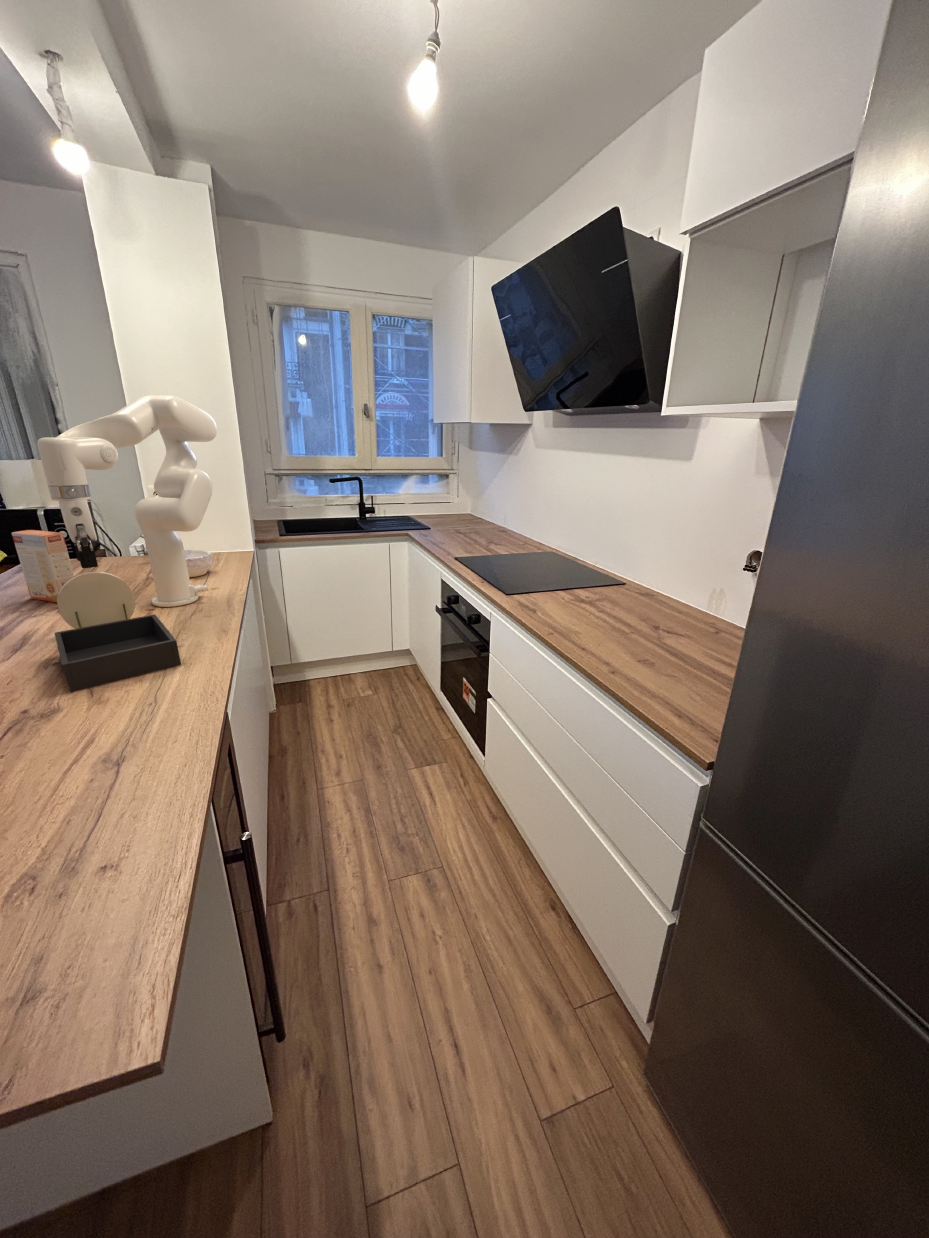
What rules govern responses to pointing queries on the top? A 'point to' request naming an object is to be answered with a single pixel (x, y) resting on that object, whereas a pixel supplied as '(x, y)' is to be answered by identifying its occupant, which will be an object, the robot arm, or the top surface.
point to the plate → (95, 599)
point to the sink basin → (115, 651)
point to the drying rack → (79, 619)
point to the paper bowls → (198, 562)
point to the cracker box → (43, 562)
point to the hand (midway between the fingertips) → (87, 563)
